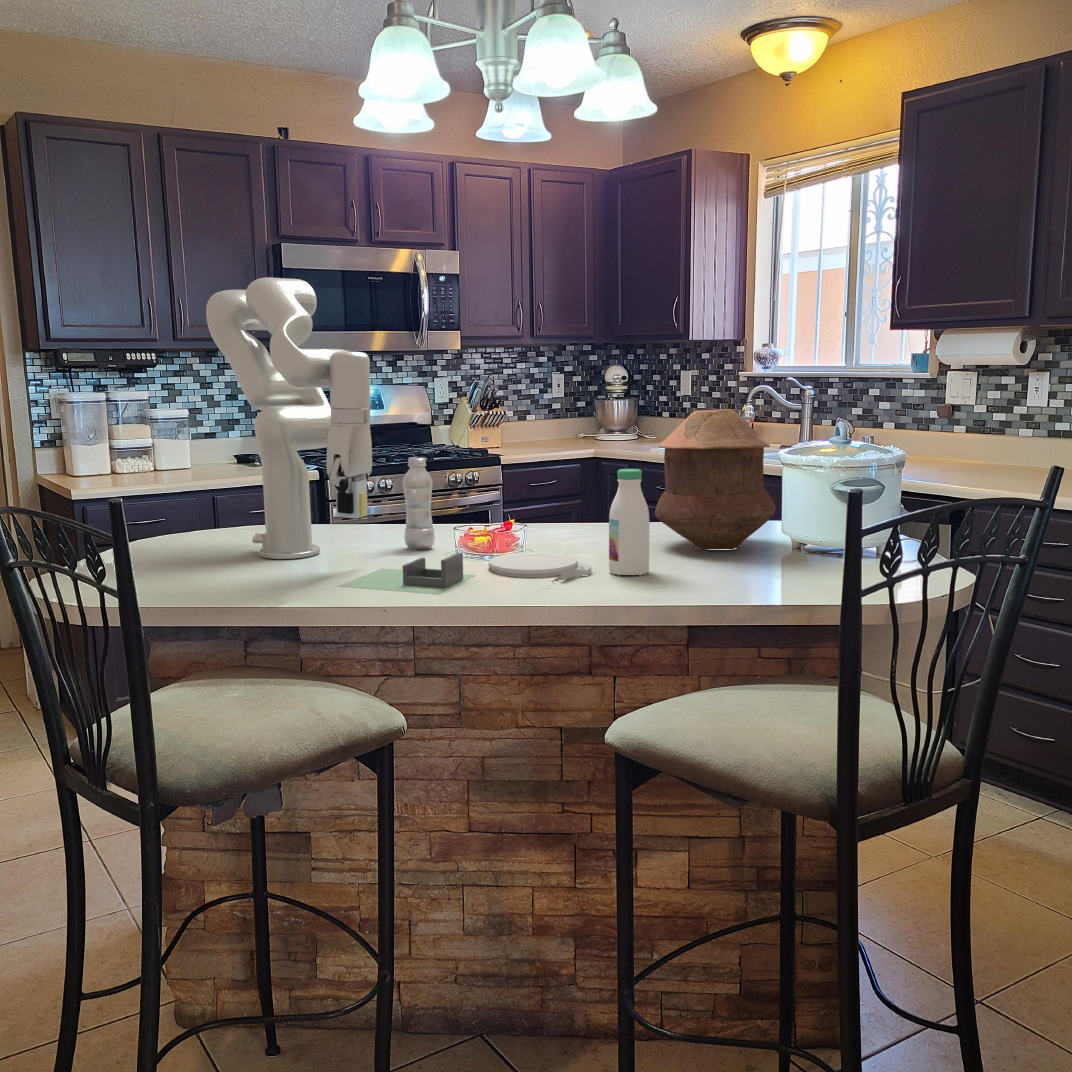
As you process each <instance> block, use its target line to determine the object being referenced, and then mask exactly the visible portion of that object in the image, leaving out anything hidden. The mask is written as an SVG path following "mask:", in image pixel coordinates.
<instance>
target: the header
mask: <svg viewBox="0 0 1072 1072" xmlns="http://www.w3.org/2000/svg"><path fill="white" fill-rule="evenodd" d="M463 557H464V556H463V552H456V553H454V554H453V555H450V556H448V557H446V558H444V559H441V560H440V568H441V569H437V568H427V567H426V558H425V557H420V558H417V559H415V560H413V561H410V562H408V563H405V564H403V565H402V570H403V585H407V586H420V587H433V588H448V587H450V586H452V585H454V584H456V583H458V582H460V581H462V580H463V574H464V562H463V561H464V558H463Z"/></svg>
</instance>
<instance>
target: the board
mask: <svg viewBox="0 0 1072 1072" xmlns="http://www.w3.org/2000/svg"><path fill="white" fill-rule="evenodd" d="M476 576H477V574H469V573H468V574H467V573H466V574H465V573H463V580H462V581H460V582H458V583H456V584H454V585H452V586H450V587H448V588H433V587H420V586H407V585H403V569H396V568H379V569H377V570H375V571H372V572H370V573H367V574H364V575H362V576H359V577H357V578H355V579H352V580H350V581H348V582H347V581H346V582H345V583H343V584H340V585H338V586H337V587H341V588H352V589H353V588H355V589H366V590H376V591H377V590H378V591H388V592H390V591H393V592H401V593H404V592H405V593H415V594H429V595H441V594H443V593H445V592H447V591H449V590H451V589H453V588H455V587H457V586H459V585H461V584H462V583H465V582H467V581H469V580H470V579H472V578H474V577H476Z"/></svg>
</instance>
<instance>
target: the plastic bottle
mask: <svg viewBox="0 0 1072 1072" xmlns="http://www.w3.org/2000/svg"><path fill="white" fill-rule="evenodd" d="M407 462H408V463H407V467H409V469H408V470H407V472H405V475H404V476H403V479H402V483H401V484H402V487H403V488H402V490H403V497H404V502H405V511H406V513H405V514H406V517H405V529H404V537H403V538H404V544H405V545H406V547H407V548H411V549H415V550H424V549H428V548H429V549H430V548H431V547H433V546H434V544H435V539H436V536H435V528H434V527H433V526H434V525H433V518H432V494H433V493H432V492H433V483H434V482H433V478H432V476H431V475H430V473H429V472H428V471H427V469H426V467H427V463H426V462H427V461H426V457H423V456H421V457H420V456H415V457H414V456H413V457H412V456H411V457H408V461H407Z"/></svg>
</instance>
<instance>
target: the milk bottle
mask: <svg viewBox="0 0 1072 1072" xmlns="http://www.w3.org/2000/svg"><path fill="white" fill-rule="evenodd" d="M642 473H643V472H642V470H641V469H638V468H620V469H618V470H617V482H618V487H617V492H616V494H615V496H614V497H613V500H612V503H611V505H610V509H609V516H608V517H609V518H608V524H609V525H608V571H609V572H610V573H611V574H612V575H615V574H617V575H616V576H620V575H639V576H641V575H640V574H644V575H646V574H645V573H647V572H648V573H649V571H650V512H649V511H650V510H649V506H648V504H647V501H646V498H645V497H644V493H643V490H642V487H641V483H642V481H643V480H642V477H643V475H642ZM648 573H647V574H648Z"/></svg>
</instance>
